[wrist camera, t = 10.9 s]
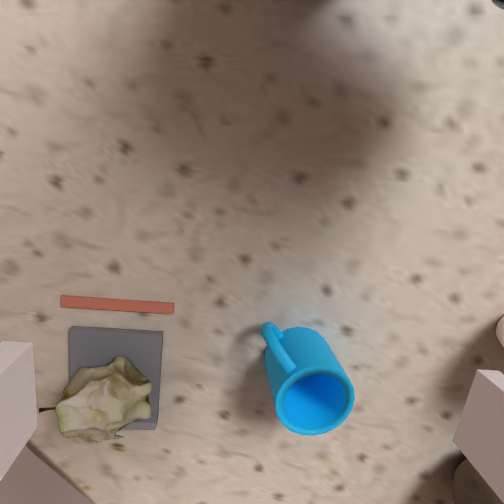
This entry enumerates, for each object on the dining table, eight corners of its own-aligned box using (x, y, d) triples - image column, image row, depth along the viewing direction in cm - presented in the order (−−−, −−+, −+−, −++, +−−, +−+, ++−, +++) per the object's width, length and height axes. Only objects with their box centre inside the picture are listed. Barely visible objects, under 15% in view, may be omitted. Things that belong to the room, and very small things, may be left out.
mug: (340, 360, 42) (369, 405, 35) (288, 396, 43) (304, 448, 35) (287, 290, 39) (305, 322, 31) (231, 331, 40) (235, 372, 32)
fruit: (65, 395, 40) (18, 427, 32) (116, 333, 40) (83, 349, 32) (125, 446, 39) (93, 491, 31) (176, 382, 40) (157, 411, 32)
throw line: (62, 295, 37) (60, 296, 36) (174, 303, 38) (173, 304, 38) (62, 305, 37) (61, 306, 37) (173, 313, 38) (173, 314, 38)
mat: (72, 325, 38) (65, 333, 36) (163, 331, 39) (160, 339, 37) (72, 416, 41) (66, 427, 39) (157, 418, 42) (155, 429, 40)
